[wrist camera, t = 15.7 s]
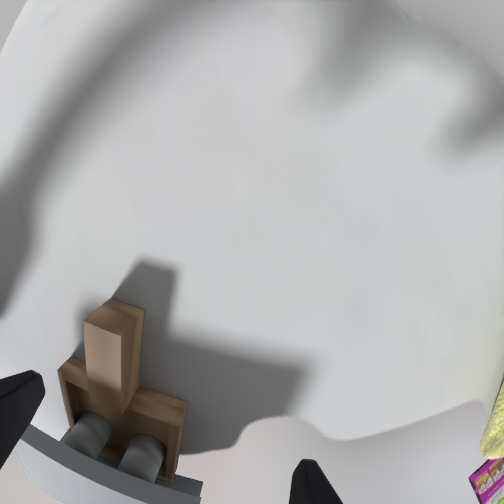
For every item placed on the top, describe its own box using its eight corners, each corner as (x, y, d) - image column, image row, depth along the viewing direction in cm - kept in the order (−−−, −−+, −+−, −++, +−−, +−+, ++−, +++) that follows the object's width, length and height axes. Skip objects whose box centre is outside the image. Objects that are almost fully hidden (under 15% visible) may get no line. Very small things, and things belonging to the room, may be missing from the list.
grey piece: (69, 434, 27) (34, 485, 18) (52, 364, 24) (-4, 420, 14) (202, 485, 27) (185, 551, 17) (218, 427, 24) (196, 517, 14)
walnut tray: (83, 429, 27) (63, 459, 21) (66, 281, 21) (24, 307, 16) (177, 466, 27) (164, 502, 21) (201, 327, 21) (180, 373, 16)
